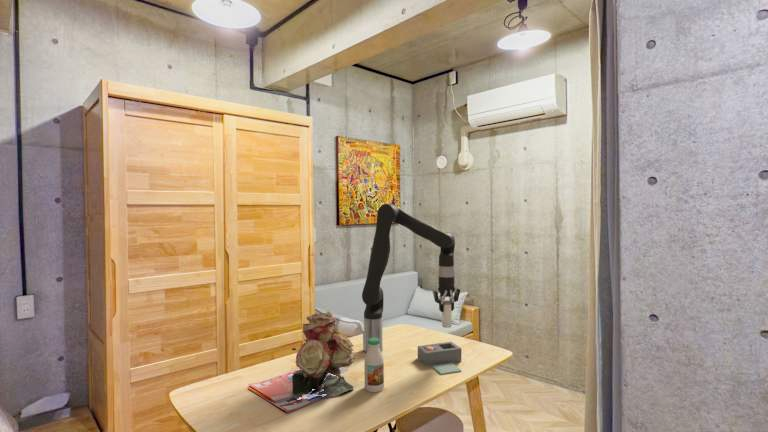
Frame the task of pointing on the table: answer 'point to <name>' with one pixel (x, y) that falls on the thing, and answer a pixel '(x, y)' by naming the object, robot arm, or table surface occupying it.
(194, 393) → the table surface
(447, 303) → the cartridge
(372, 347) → the milk bottle
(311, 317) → the rose bouquet
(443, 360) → the housing
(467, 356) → the table surface
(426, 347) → the orange egg
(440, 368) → the mat
